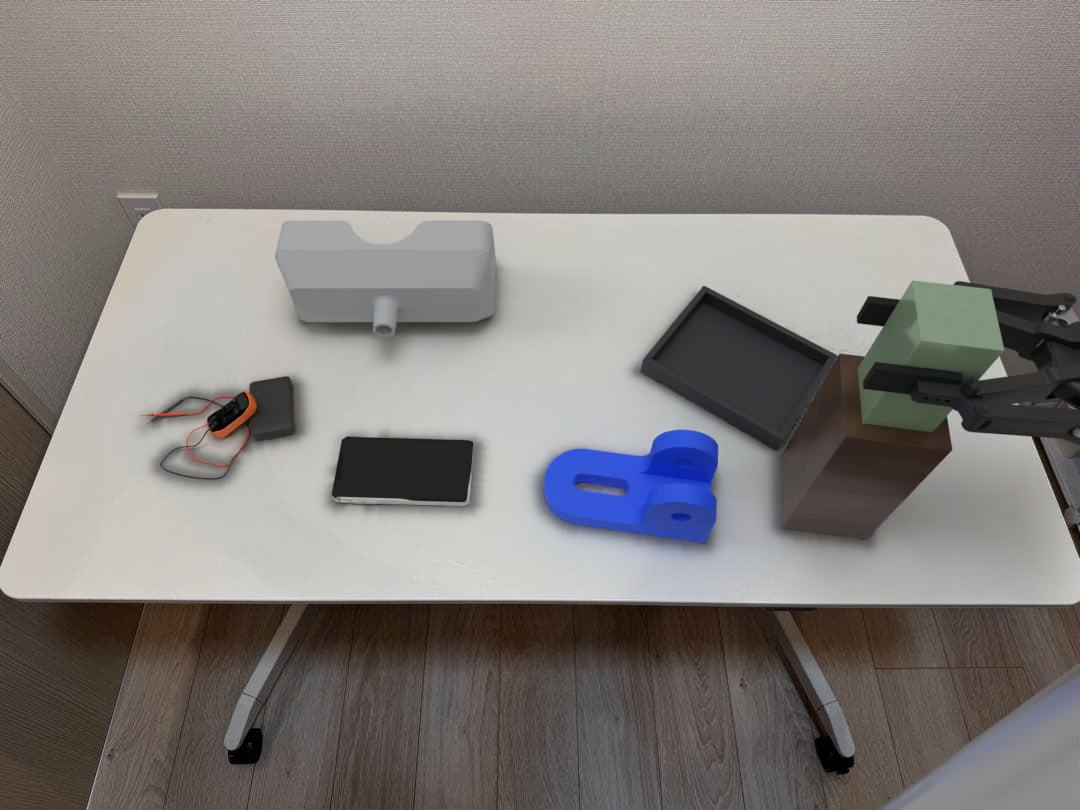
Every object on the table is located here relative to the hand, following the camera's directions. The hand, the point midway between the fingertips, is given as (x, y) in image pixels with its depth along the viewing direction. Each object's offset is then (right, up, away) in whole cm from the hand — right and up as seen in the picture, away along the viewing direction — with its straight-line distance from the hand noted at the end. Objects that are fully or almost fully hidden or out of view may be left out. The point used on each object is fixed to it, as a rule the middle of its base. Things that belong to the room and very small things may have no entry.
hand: (866, 341), depth 62 cm
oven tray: (-2, -1, +32) cm, 32 cm away
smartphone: (-42, -13, +24) cm, 50 cm away
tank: (-45, +7, +37) cm, 58 cm away
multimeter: (-64, -9, +27) cm, 70 cm away
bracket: (-17, -15, +23) cm, 32 cm away
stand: (+5, -15, +23) cm, 28 cm away
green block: (+5, -5, +6) cm, 9 cm away
